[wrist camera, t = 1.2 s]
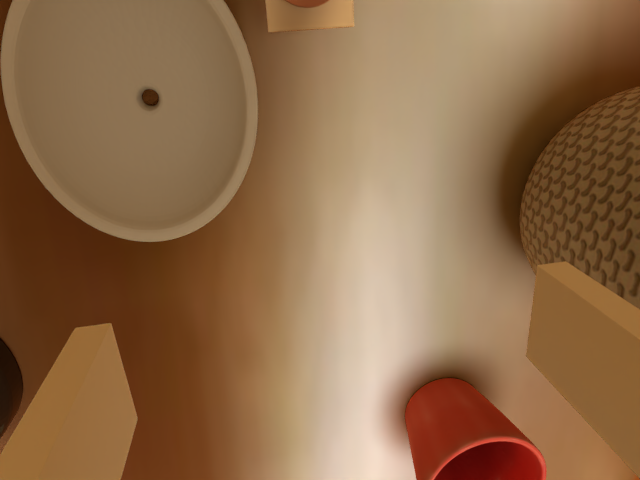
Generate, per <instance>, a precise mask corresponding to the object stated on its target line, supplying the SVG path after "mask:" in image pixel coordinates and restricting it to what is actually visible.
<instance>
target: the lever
mask: <svg viewBox="0 0 640 480" xmlns="http://www.w3.org/2000/svg"><path fill="white" fill-rule="evenodd" d="M265 2H266V12H267V22H268V32H269V33H272V32H286V31H300V30H314V29H328V28H342V27H353V26H354V10H353V0H265Z"/></svg>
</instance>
